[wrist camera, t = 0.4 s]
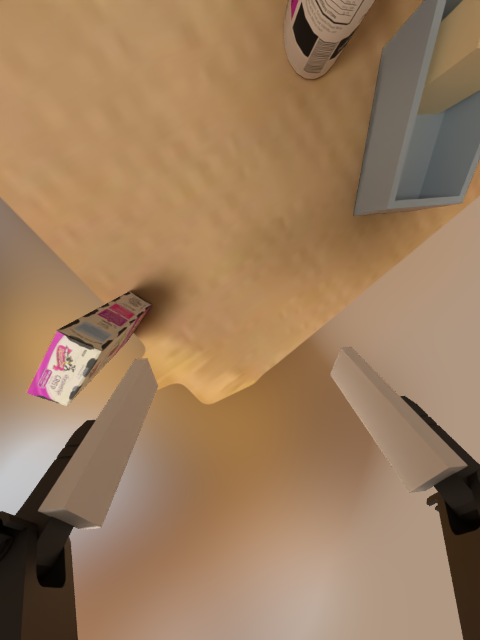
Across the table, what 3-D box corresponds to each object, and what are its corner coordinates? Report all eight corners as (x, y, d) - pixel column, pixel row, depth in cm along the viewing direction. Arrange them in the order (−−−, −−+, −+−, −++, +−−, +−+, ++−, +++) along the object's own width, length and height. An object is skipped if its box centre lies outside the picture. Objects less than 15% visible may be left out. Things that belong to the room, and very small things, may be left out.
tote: (382, 49, 24) (443, -22, 17) (464, 49, 25) (550, -18, 18) (353, 215, 32) (386, 209, 26) (415, 210, 33) (461, 203, 27)
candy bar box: (128, 289, 33) (54, 328, 18) (152, 304, 34) (104, 350, 20) (103, 330, 35) (21, 394, 21) (127, 342, 37) (67, 408, 22)
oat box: (396, 65, 24) (506, -42, 15) (453, 65, 25) (590, -39, 16) (386, 115, 26) (476, 48, 17) (438, 113, 27) (552, 48, 18)
